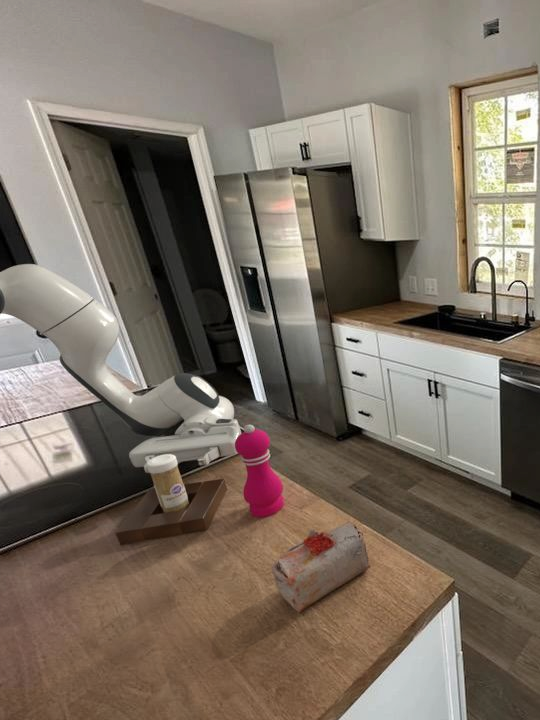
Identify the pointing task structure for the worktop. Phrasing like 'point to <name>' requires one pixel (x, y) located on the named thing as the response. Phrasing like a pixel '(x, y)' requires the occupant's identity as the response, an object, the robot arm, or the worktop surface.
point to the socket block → (173, 514)
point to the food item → (320, 565)
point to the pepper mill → (259, 473)
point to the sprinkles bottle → (168, 483)
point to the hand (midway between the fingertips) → (176, 466)
